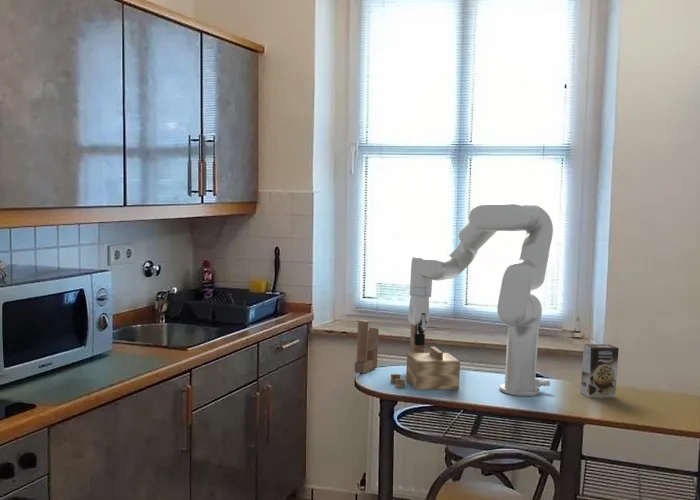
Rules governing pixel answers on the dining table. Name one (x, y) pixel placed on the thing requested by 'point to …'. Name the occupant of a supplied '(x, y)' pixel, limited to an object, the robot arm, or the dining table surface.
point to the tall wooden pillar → (414, 347)
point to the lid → (432, 356)
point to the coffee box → (599, 370)
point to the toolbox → (430, 374)
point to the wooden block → (366, 347)
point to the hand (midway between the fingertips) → (417, 343)
